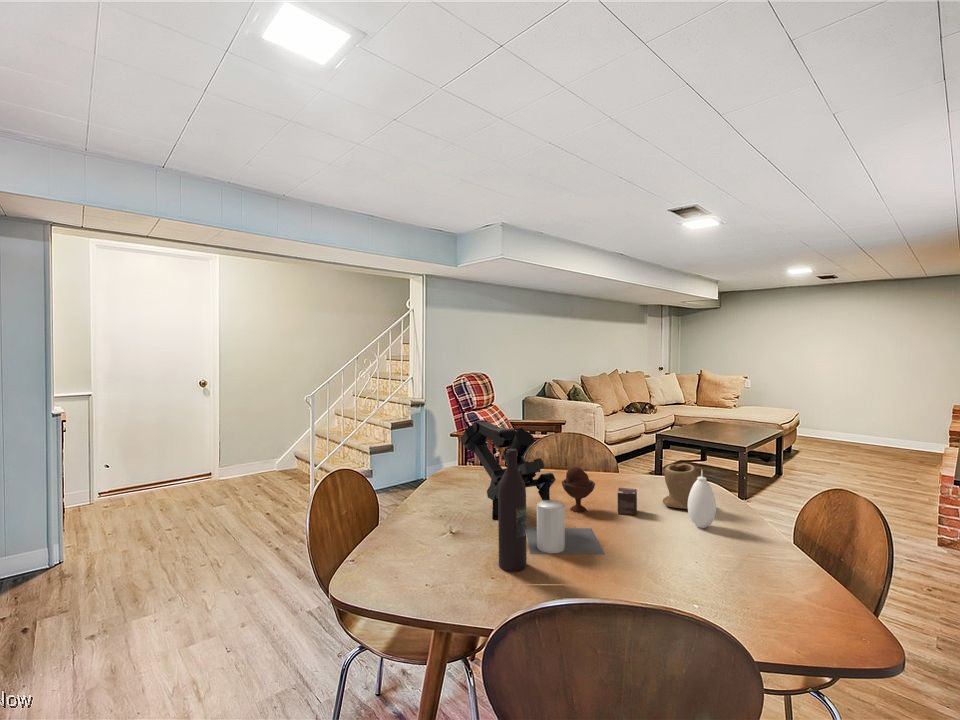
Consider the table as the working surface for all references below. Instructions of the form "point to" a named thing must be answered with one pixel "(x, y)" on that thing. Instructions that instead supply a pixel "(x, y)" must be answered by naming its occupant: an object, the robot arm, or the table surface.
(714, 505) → the white air blower bulb
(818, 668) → the table surface
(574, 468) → the ice cream bowl
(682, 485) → the stone cup
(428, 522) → the table surface
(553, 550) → the cover cup
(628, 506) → the box
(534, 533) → the mat
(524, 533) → the wine bottle
